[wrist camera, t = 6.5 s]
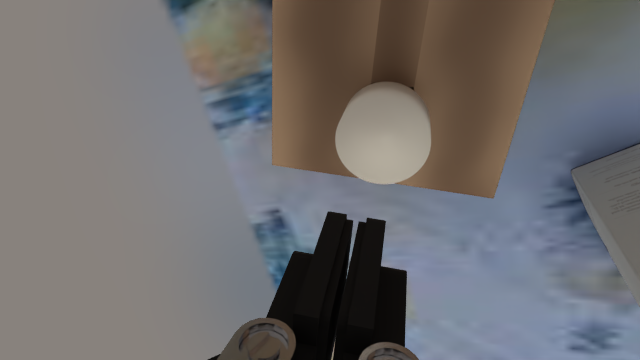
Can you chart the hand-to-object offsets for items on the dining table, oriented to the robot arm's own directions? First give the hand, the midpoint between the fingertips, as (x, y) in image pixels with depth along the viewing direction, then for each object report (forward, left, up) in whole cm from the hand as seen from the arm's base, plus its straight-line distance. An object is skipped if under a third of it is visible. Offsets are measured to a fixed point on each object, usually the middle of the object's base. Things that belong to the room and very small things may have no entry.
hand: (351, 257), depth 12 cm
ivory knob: (0, 0, -15) cm, 15 cm away
